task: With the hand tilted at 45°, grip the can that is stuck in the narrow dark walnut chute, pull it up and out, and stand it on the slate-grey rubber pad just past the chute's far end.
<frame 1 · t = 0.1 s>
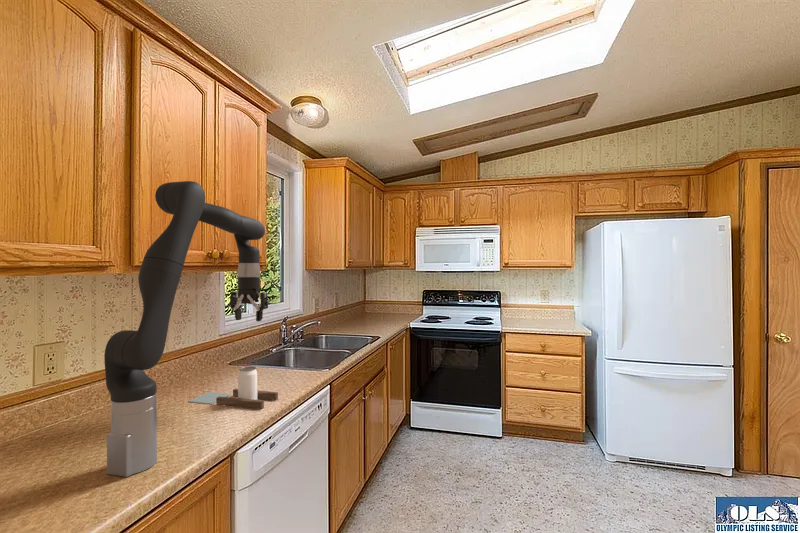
hand: (248, 320, 136), 29 cm above the worktop, tool pointing down, fingers open, 8 cm apart
can: (247, 402, 135), on the worktop
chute: (247, 401, 135), on the worktop
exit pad: (210, 398, 139), on the worktop
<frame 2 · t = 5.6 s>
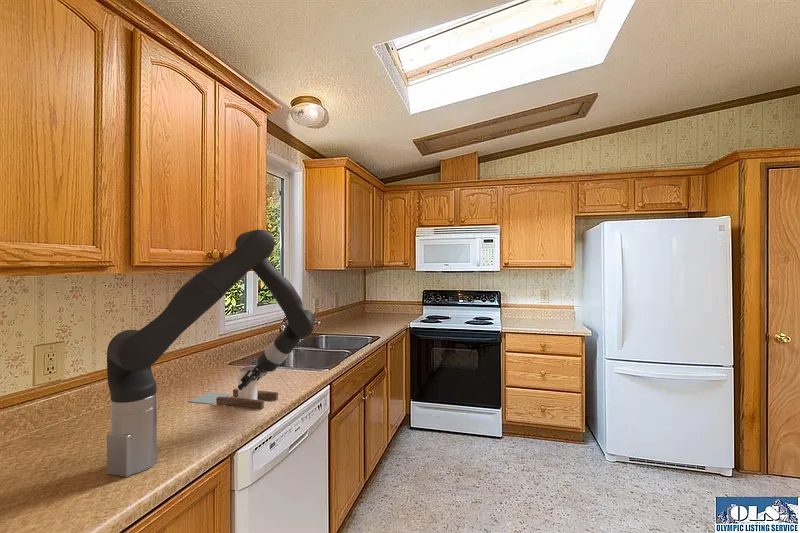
hand: (245, 386, 136), 6 cm above the worktop, tool tilted 45°, fingers closed on can, 5 cm apart
can: (247, 402, 135), on the worktop, touching gripper
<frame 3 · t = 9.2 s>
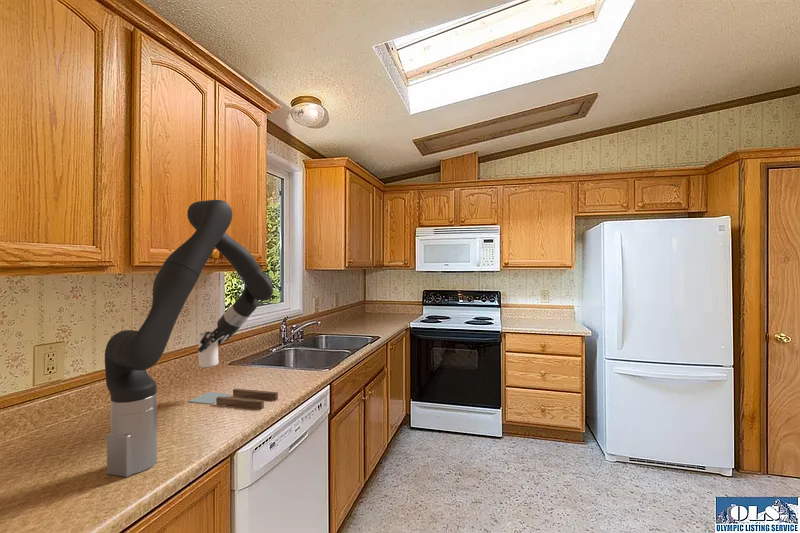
hand: (206, 349, 139), 18 cm above the worktop, tool tilted 45°, fingers closed on can, 5 cm apart
can: (208, 365, 139), point 12 cm above the worktop, touching gripper
when the fingers open (7 cm above the worktop, at t = 12.8 s): can drops 1 cm, resting on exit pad.
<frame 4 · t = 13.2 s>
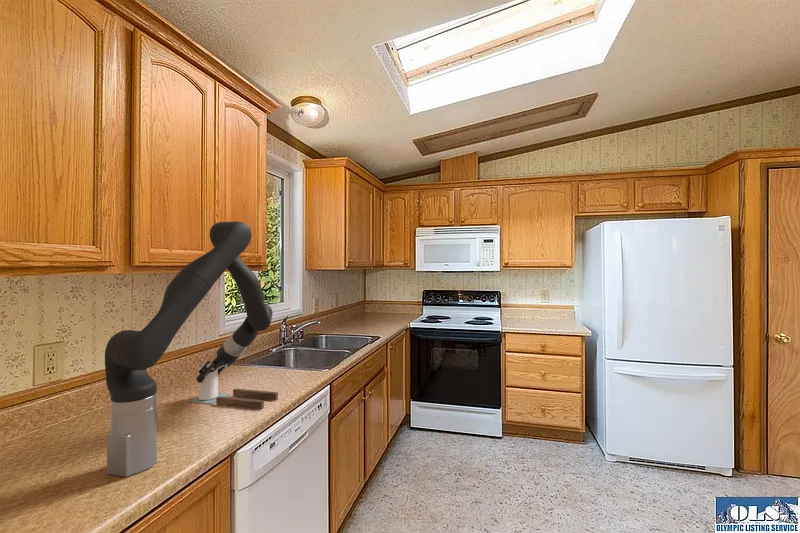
hand: (206, 377, 139), 8 cm above the worktop, tool tilted 45°, fingers open, 8 cm apart
can: (208, 398, 139), resting on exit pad
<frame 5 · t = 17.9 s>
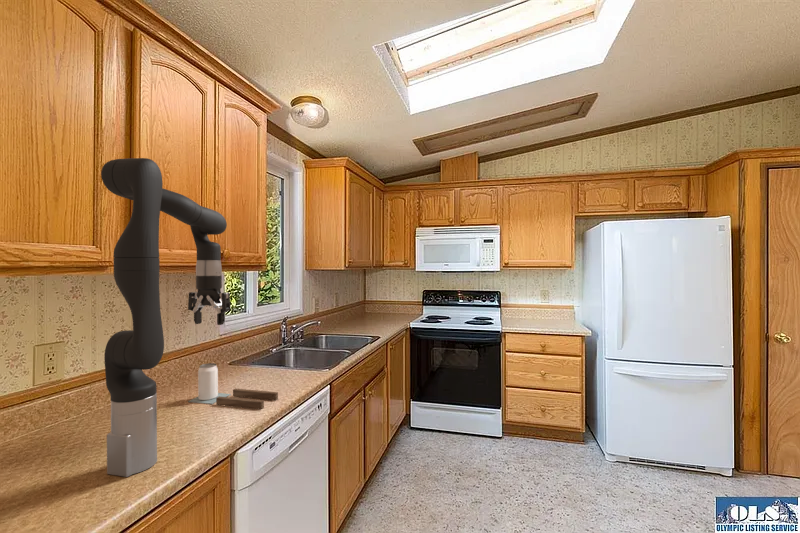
hand: (209, 324, 122), 30 cm above the worktop, tool pointing down, fingers open, 8 cm apart
nothing on the worktop moved.
at the end: can 0.6 cm from the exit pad (horizontally); can tilted 0°; the gripper is holding nothing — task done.
